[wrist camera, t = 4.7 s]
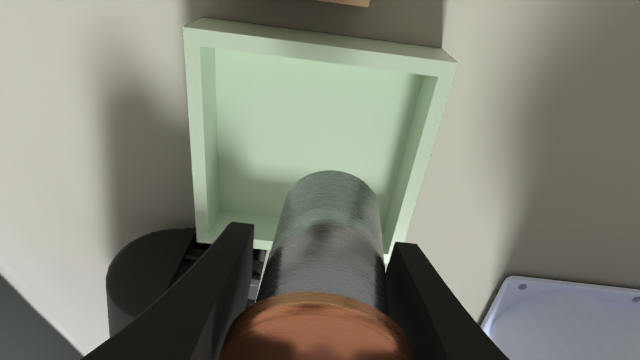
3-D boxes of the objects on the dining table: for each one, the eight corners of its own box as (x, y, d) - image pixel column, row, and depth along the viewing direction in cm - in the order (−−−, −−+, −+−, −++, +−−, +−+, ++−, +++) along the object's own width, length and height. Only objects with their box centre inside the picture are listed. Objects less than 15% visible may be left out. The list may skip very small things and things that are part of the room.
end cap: (146, 209, 21) (75, 306, 15) (269, 235, 22) (246, 337, 16) (145, 322, 26) (92, 426, 20) (246, 340, 27) (222, 446, 21)
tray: (441, 48, 16) (458, 63, 14) (390, 233, 21) (397, 264, 19) (203, 17, 16) (182, 26, 14) (210, 212, 21) (196, 242, 19)
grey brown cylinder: (406, 172, 12) (449, 352, 6) (374, 265, 14) (387, 460, 8) (279, 147, 12) (216, 309, 6) (266, 245, 14) (210, 429, 8)
